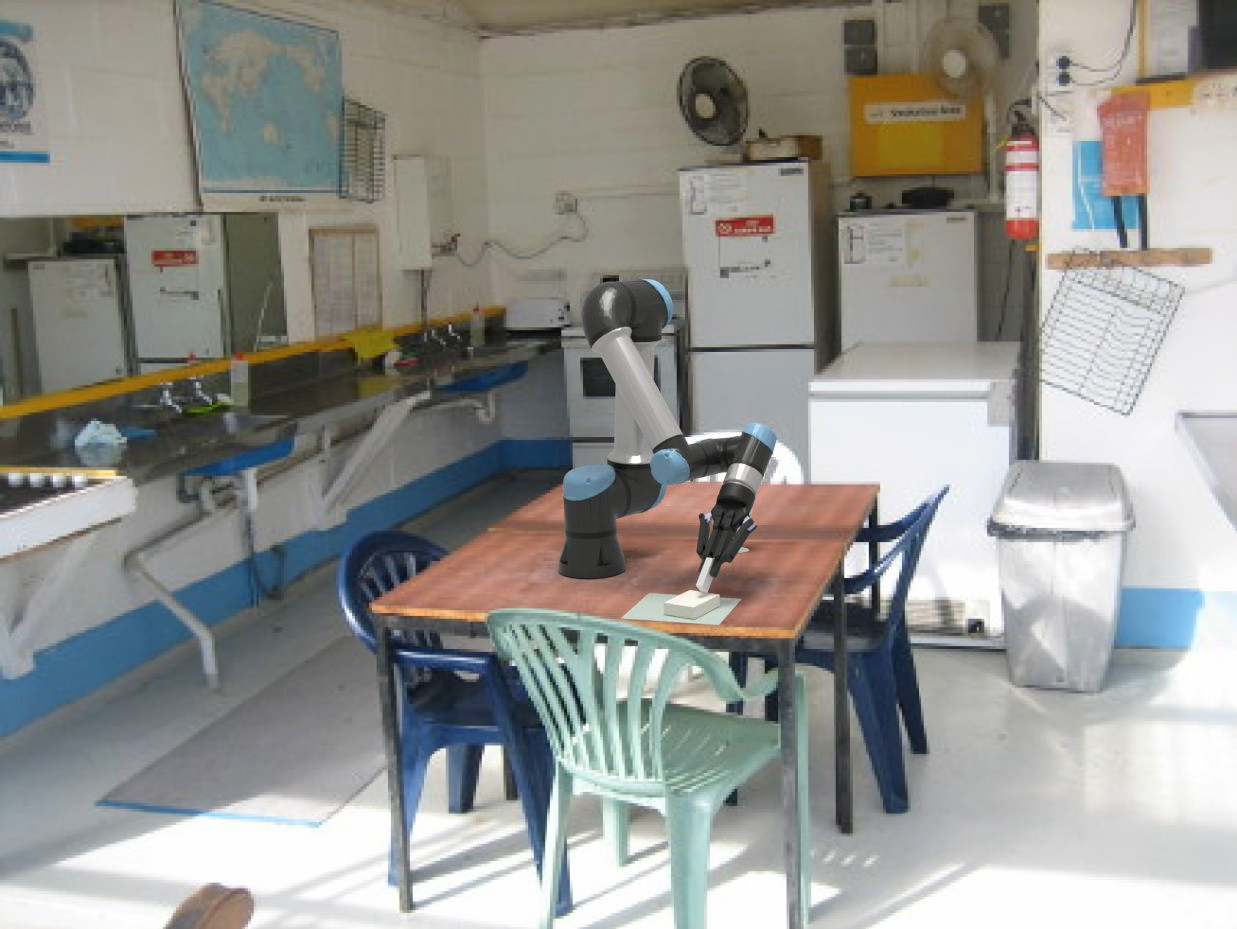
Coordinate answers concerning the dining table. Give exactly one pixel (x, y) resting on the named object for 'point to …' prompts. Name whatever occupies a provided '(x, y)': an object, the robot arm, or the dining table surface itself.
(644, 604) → the mat
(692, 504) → the dining table surface
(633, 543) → the dining table surface
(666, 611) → the box
